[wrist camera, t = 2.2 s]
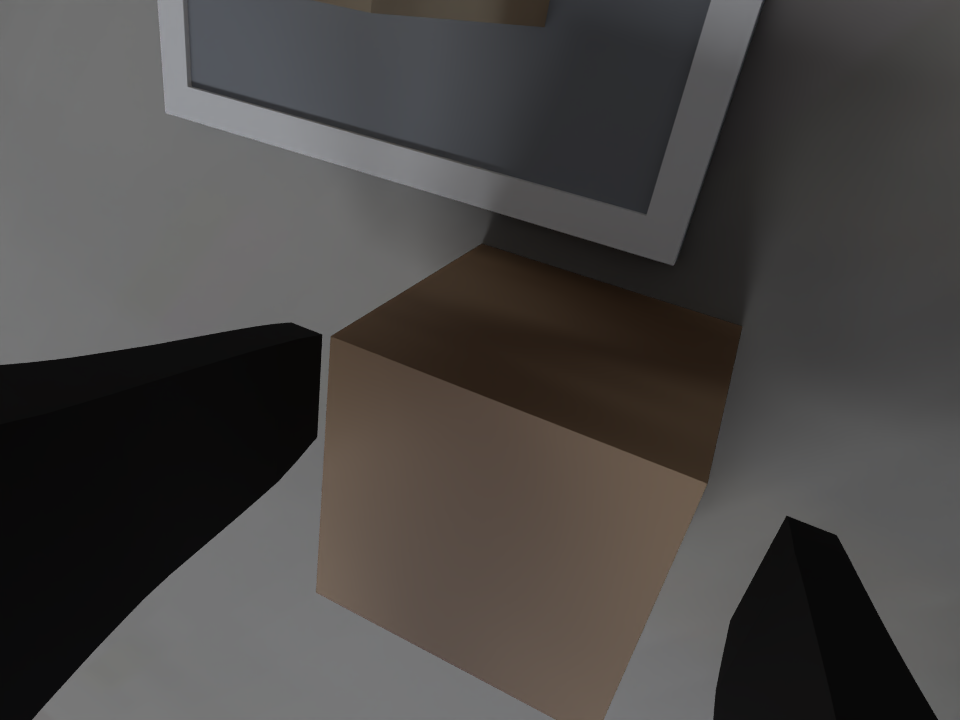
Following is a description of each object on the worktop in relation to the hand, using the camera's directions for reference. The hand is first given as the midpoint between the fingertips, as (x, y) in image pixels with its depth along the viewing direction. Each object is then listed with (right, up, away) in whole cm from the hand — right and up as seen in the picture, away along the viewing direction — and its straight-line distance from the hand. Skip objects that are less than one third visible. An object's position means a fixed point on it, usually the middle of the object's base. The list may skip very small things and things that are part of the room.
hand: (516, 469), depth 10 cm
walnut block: (+1, +1, +2) cm, 3 cm away
